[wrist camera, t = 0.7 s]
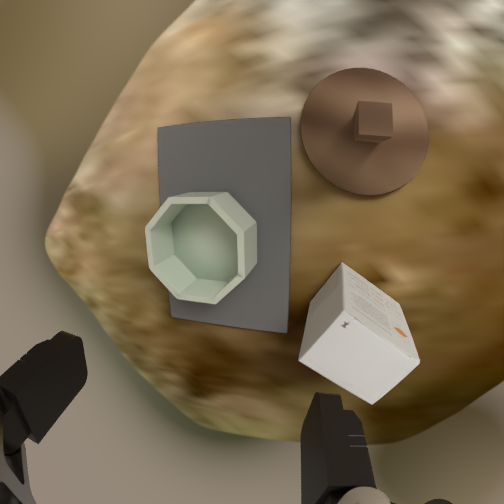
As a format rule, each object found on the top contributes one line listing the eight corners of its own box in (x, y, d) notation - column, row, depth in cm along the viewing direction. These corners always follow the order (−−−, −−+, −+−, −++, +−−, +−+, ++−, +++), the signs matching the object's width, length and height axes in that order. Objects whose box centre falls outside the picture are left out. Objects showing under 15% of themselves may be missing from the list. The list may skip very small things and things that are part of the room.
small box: (309, 301, 31) (294, 360, 22) (342, 259, 29) (342, 307, 20) (367, 341, 31) (371, 407, 21) (401, 303, 29) (421, 364, 19)
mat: (160, 127, 30) (157, 127, 30) (290, 117, 27) (289, 117, 26) (173, 315, 37) (171, 317, 36) (287, 330, 33) (286, 333, 33)
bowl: (168, 192, 32) (142, 197, 27) (258, 191, 29) (243, 197, 25) (174, 278, 34) (152, 295, 30) (258, 287, 32) (245, 307, 28)
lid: (300, 69, 25) (286, 39, 18) (422, 77, 22) (447, 51, 15) (302, 190, 29) (289, 200, 21) (424, 198, 26) (452, 212, 18)
